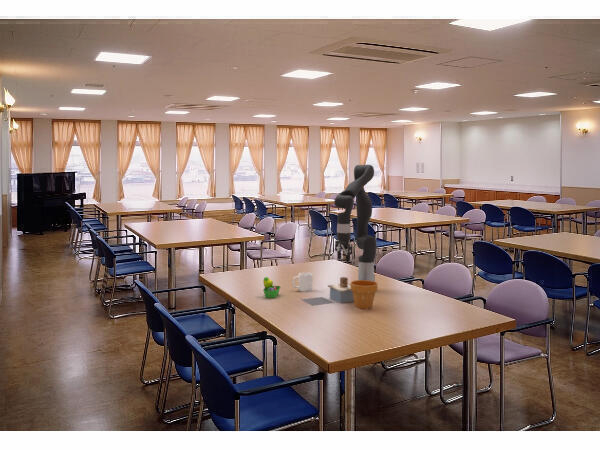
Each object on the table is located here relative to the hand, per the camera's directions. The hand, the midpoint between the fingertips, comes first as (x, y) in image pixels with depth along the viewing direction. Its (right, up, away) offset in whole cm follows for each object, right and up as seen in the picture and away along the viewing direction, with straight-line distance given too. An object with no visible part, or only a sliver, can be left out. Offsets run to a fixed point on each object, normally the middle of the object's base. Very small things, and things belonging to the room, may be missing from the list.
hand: (343, 260), depth 294 cm
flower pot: (+10, -24, -12) cm, 29 cm away
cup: (-23, -20, +22) cm, 38 cm away
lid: (0, -15, 0) cm, 15 cm away
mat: (-15, -23, -4) cm, 27 cm away
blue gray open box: (0, -22, +1) cm, 22 cm away
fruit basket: (-41, -21, +7) cm, 47 cm away
